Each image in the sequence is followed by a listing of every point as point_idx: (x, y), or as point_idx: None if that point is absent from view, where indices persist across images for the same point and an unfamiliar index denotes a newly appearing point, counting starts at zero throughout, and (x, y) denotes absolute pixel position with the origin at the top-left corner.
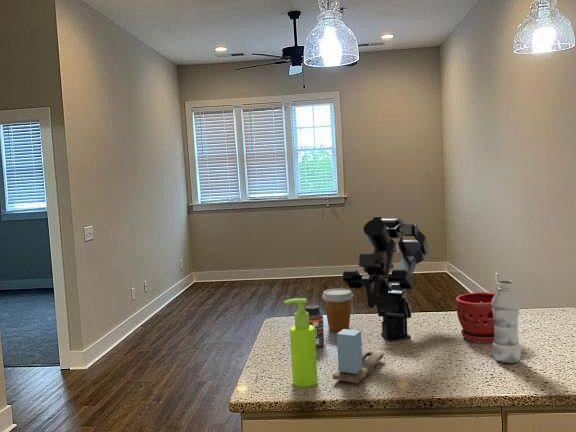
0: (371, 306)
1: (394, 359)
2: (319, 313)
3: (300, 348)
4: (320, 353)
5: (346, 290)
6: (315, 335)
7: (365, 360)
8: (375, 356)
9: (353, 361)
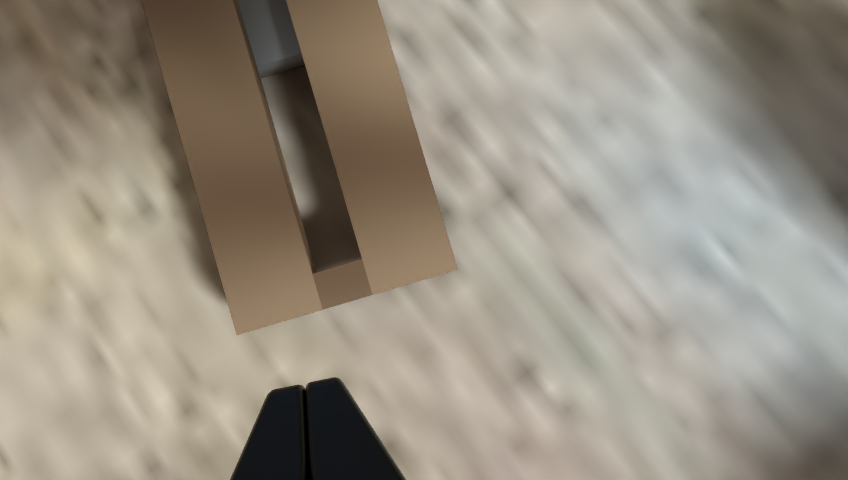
0: (267, 407)
1: (200, 420)
2: None
3: None
4: (810, 142)
5: None
6: None
7: (252, 76)
8: (239, 213)
9: None
